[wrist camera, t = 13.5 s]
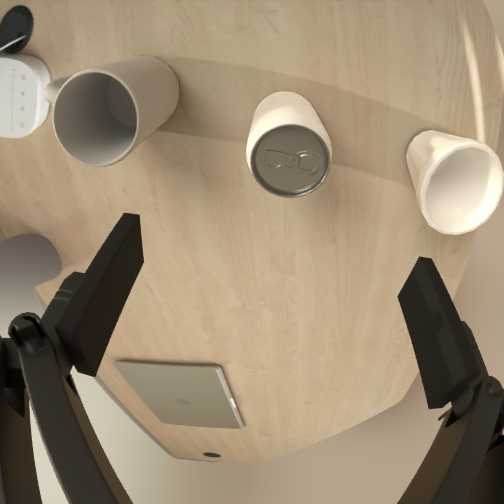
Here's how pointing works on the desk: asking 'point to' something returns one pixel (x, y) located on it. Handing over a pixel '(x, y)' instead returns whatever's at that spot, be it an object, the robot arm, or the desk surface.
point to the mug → (111, 108)
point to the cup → (454, 180)
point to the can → (288, 146)
